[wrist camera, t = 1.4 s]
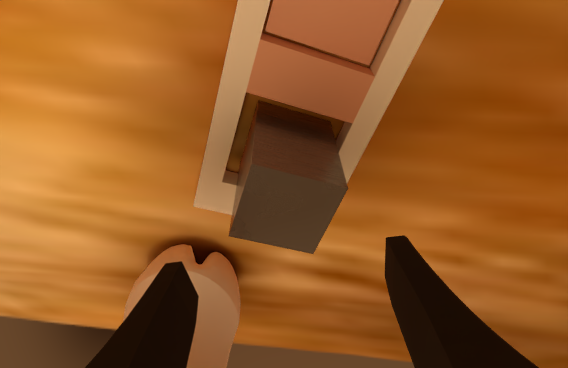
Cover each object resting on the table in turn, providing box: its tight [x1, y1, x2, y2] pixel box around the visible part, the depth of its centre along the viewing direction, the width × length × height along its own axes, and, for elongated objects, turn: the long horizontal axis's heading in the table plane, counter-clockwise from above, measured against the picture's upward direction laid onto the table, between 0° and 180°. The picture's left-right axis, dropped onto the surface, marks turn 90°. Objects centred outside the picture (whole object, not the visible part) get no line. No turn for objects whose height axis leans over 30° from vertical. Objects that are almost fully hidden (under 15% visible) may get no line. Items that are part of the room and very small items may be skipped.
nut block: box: [229, 100, 348, 254], centre depth 17 cm, size 4×4×6 cm
